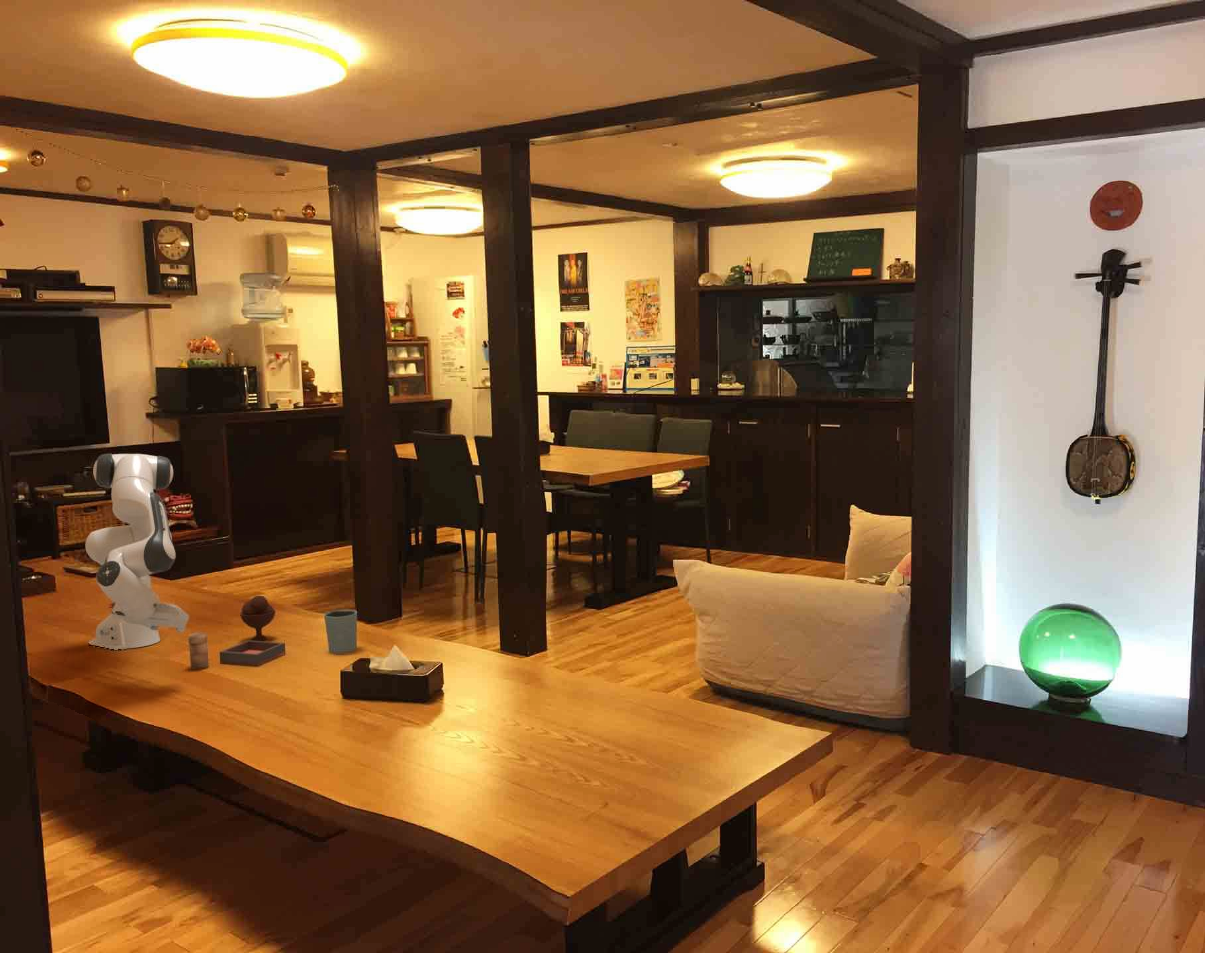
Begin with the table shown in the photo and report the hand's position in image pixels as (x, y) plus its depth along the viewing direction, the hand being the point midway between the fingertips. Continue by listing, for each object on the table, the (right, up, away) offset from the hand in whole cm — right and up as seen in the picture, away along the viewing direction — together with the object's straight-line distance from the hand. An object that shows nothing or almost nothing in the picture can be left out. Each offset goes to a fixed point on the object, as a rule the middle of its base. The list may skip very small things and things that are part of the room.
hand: (168, 629), depth 297 cm
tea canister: (+4, -13, +12) cm, 19 cm away
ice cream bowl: (+12, -10, +42) cm, 45 cm away
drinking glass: (+43, -11, +28) cm, 52 cm away
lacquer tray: (+17, -12, +21) cm, 29 cm away
